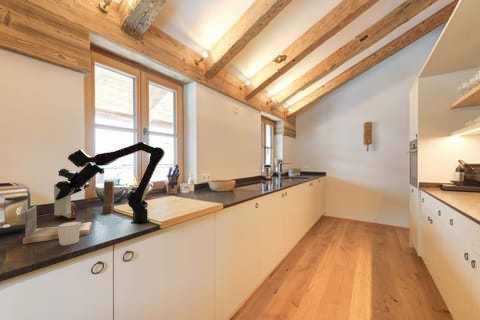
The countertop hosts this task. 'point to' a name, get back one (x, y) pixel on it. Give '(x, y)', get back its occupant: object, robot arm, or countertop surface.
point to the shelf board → (45, 229)
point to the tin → (72, 212)
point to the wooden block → (108, 197)
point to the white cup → (69, 233)
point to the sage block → (61, 203)
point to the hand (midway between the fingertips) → (59, 198)
